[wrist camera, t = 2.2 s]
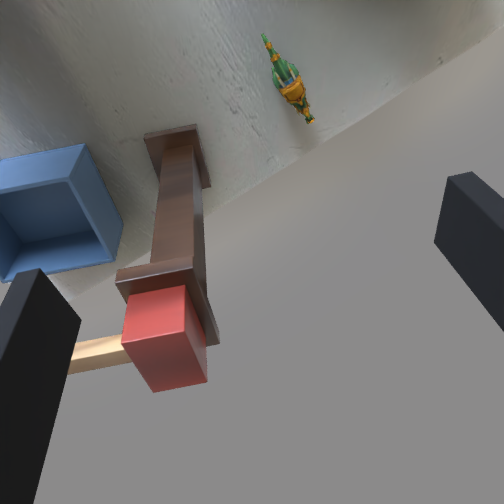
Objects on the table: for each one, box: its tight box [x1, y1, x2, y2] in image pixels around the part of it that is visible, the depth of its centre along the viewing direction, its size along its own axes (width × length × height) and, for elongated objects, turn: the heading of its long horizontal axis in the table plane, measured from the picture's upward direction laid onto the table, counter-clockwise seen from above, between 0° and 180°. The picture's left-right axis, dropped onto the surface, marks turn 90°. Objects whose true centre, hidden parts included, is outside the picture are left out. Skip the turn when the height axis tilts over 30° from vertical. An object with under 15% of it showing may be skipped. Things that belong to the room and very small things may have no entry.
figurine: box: [261, 34, 315, 124], centre depth 43 cm, size 3×12×8 cm, turn 33°
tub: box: [0, 143, 123, 283], centre depth 50 cm, size 14×16×9 cm
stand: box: [115, 124, 220, 347], centre depth 42 cm, size 10×7×28 cm
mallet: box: [67, 285, 207, 393], centre depth 29 cm, size 7×13×4 cm, turn 98°
